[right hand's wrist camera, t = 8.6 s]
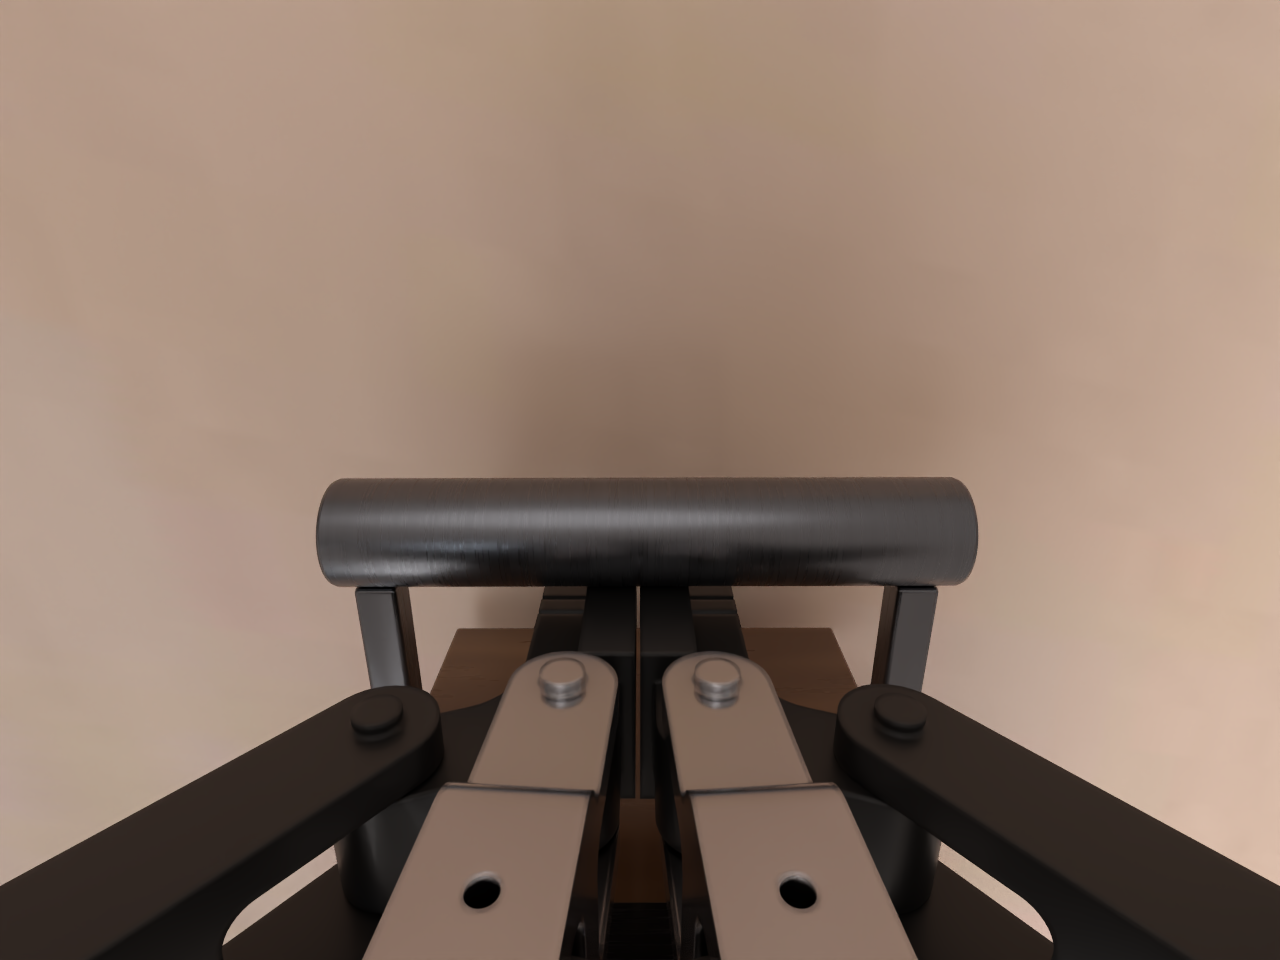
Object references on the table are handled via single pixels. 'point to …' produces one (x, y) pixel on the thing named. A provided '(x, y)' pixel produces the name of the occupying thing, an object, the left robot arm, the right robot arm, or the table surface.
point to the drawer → (646, 556)
